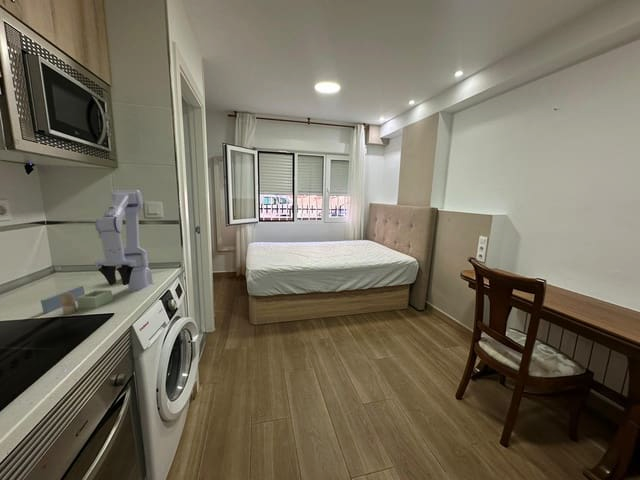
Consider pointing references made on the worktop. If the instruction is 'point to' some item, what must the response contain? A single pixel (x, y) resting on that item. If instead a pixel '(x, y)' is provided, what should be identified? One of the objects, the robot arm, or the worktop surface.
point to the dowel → (68, 303)
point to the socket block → (94, 299)
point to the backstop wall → (55, 301)
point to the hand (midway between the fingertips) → (119, 284)
